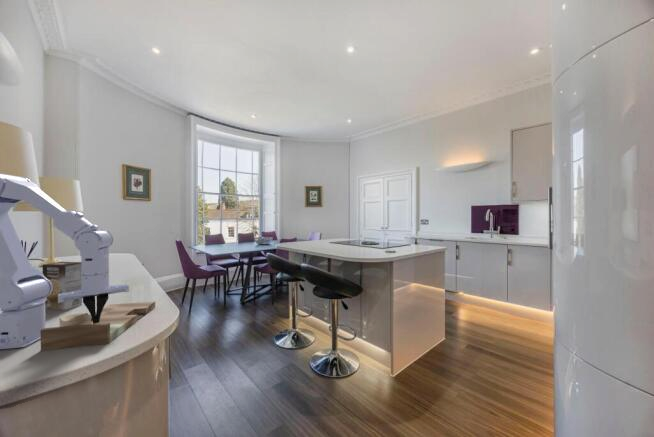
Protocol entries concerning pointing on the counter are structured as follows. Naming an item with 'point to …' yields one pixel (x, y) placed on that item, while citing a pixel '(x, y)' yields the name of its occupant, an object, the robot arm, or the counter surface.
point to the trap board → (96, 327)
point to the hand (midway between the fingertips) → (96, 322)
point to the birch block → (75, 319)
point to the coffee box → (63, 283)
